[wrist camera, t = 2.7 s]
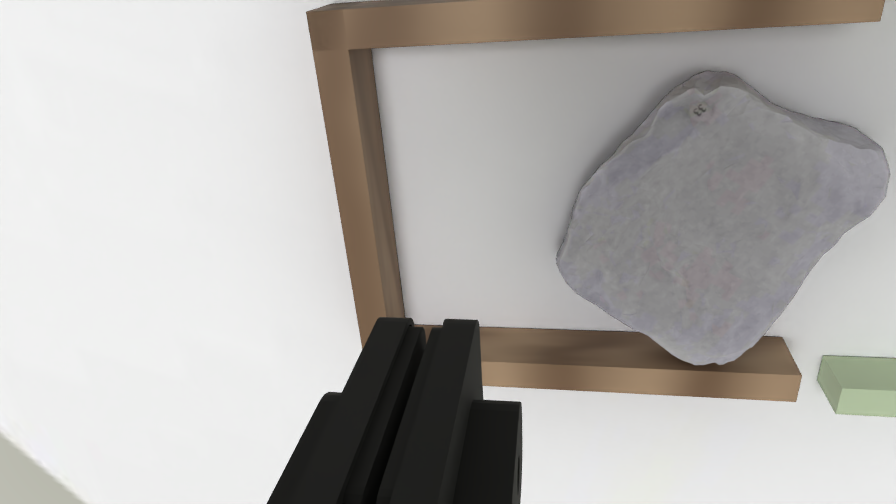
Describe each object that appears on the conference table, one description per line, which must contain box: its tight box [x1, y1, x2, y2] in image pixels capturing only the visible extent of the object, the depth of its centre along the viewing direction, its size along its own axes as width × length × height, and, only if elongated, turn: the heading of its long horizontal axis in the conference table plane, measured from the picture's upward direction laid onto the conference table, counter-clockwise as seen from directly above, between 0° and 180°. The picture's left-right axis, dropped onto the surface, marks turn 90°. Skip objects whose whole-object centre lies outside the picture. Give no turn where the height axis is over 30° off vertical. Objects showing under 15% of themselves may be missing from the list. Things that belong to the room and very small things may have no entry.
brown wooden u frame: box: [306, 0, 885, 402], centre depth 28 cm, size 20×18×3 cm
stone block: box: [556, 71, 890, 365], centre depth 27 cm, size 12×5×10 cm
